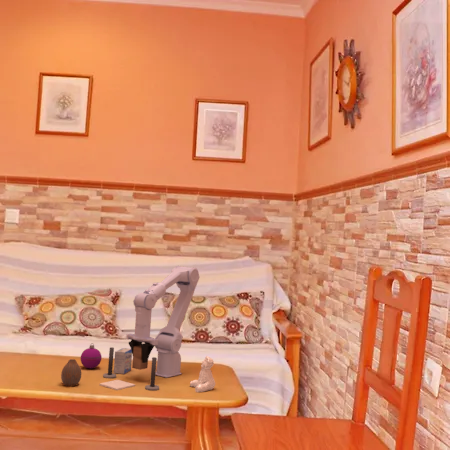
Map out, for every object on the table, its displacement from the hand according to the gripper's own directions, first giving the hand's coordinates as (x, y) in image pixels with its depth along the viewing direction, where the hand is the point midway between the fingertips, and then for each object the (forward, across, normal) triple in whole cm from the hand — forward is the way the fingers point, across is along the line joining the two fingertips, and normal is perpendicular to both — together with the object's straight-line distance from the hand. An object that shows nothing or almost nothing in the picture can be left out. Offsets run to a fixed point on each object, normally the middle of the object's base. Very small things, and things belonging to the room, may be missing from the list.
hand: (140, 361), depth 212 cm
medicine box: (+8, -14, +5) cm, 17 cm away
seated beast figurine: (+8, +23, +10) cm, 26 cm away
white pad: (+7, 0, -11) cm, 13 cm away
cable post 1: (+7, -11, -5) cm, 14 cm away
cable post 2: (+7, +11, -5) cm, 14 cm away
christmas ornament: (+7, -26, -1) cm, 27 cm away
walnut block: (+2, 0, 0) cm, 2 cm away
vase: (+7, -11, -23) cm, 27 cm away
